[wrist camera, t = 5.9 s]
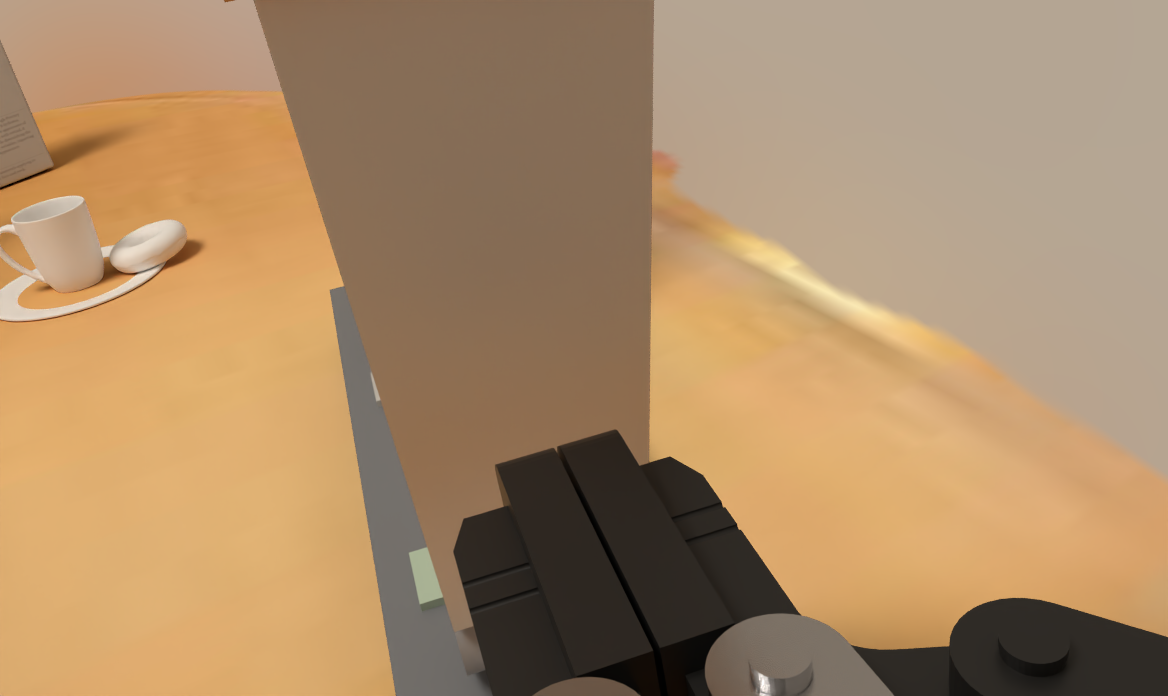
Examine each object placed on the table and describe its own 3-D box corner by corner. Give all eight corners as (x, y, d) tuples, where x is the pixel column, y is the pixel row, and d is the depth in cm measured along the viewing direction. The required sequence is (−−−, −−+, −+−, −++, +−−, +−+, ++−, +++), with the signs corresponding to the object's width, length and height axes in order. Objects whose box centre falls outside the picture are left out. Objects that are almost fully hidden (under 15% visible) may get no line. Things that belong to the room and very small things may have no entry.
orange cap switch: (463, 701, 19) (131, -276, 7) (437, 598, 21) (119, -373, 8) (664, 634, 20) (703, -367, 7) (626, 539, 21) (604, -440, 9)
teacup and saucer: (213, 243, 51) (185, 165, 49) (139, 318, 44) (102, 230, 42) (52, 262, 52) (18, 187, 50) (-45, 338, 45) (-88, 253, 44)
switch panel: (458, 982, 17) (428, 899, 16) (344, 338, 38) (328, 285, 37) (819, 845, 18) (813, 758, 17) (510, 293, 39) (499, 240, 38)
